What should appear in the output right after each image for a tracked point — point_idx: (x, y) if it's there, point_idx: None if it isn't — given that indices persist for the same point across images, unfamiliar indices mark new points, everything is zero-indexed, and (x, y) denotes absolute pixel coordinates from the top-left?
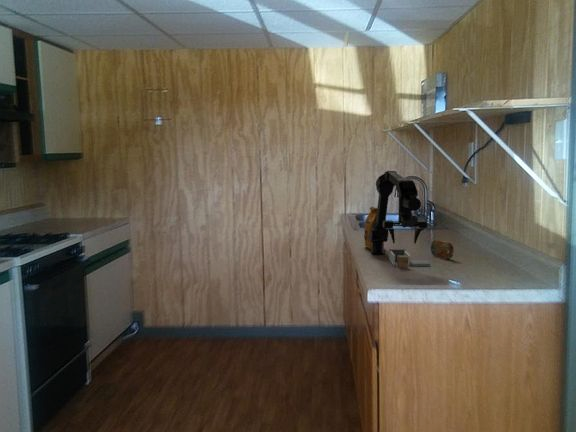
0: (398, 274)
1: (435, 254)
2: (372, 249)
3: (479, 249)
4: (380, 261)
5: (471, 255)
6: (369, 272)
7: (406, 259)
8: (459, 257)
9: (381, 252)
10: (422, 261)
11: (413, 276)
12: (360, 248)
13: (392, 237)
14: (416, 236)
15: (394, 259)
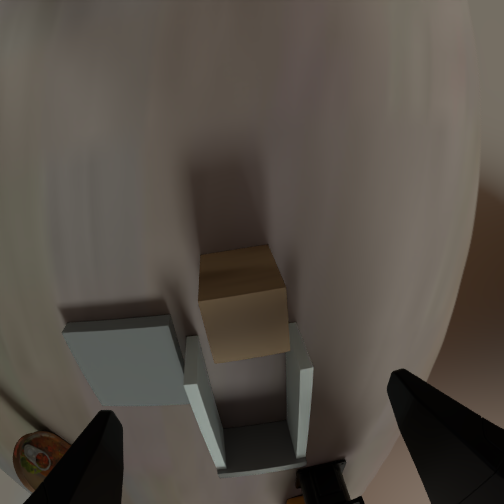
0: (291, 30)
1: None
2: (343, 478)
3: None
4: (346, 385)
5: None
6: (459, 103)
7: (214, 287)
8: None
9: (311, 473)
10: (115, 380)
11: None
12: (351, 490)
13: (468, 412)
14: (63, 489)
15: (298, 348)
